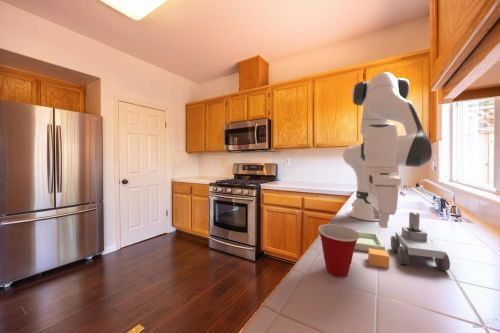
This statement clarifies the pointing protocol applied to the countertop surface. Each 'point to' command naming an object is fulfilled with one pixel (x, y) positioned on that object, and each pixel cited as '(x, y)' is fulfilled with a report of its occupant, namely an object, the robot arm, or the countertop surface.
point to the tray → (369, 242)
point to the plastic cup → (338, 248)
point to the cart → (418, 247)
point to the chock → (378, 257)
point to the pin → (414, 221)
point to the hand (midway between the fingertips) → (379, 222)
